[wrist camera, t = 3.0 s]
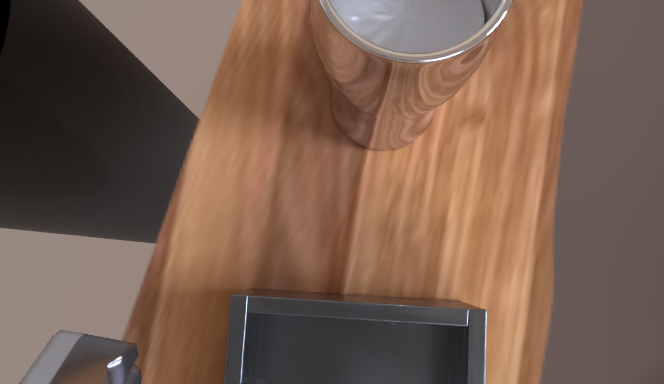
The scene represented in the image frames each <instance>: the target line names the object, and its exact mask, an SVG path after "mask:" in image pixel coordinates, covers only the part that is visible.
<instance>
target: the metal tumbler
mask: <svg viewBox="0 0 664 384" xmlns="http://www.w3.org/2000/svg"><path fill="white" fill-rule="evenodd" d="M512 2H513V0H311V12H312V27H313V34H314V39H315V44H316V48H317V53H318V56H319V59H320V62H321V64H322V67H323V69H324V71H325V73H326V75H327V77H328V79H329V81H330V82H331V84H332V85H333V86H332V91H331V108H332V112H333V116H334V118H335V120H336V122H337V124H338V126H339V127H340V129H341V130H342V131H343V132H344V133H345V135H347V136H348V137H349V138H350V139H351V140H353V141H354V142H356V143H357V144H359V145H361V146H364V147H366V148H370V149H374V150H394V149H398V148H401V147H404V146H406V145H408V144H410V143H412V142H413V141H415V140H416V139H418V138H419V137H420V136H421V135H422V134H423V133H424V132H425V131H426V129H427V128H428V127H429V125H430V123H431V121H432V119H433V117H434V114H435V111H436V108H438V107H439V106H441V105H442V104H443V103H445V102H446V101H447V100H449V99H450V98H451V97H453V96H454V95H455V94H456V93H457V92H458V91H460V90H461V88H462V87H463V86H464V85H465V84H466V83H467V82H468V80H469V79H470V78H471V77H472V75H473V74H474V73H475V72H476V70H477V69H478V67H479V66H480V64H481V63H482V61H483V59H484V58H485V56H486V54H487V52H488V51H489V49H490V47H491V45H492V43H493V41H494V39H495V37H496V35H497V33H498V30H499V28H500V26H501V23H502V21H503V19H504V17H505V16H506V14H507V12H508V10H509V9H510V7H511V4H512Z"/></svg>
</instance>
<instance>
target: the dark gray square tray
mask: <svg viewBox="0 0 664 384" xmlns="http://www.w3.org/2000/svg"><path fill="white" fill-rule="evenodd" d="M486 323H487V310H485V309H482V308H479V307H476V306H473V305H470V304H467V303H464V302H461V301H449V300H432V299H416V298H400V297H383V296H367V295H350V294H334V293H318V292H301V291H285V290H269V289H249V290H245V291H242V292H238V293H234V294H231V298H230V310H229V323H228V335H227V348H226V360H225V372H224V384H485V363H486Z"/></svg>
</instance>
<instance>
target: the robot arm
mask: <svg viewBox="0 0 664 384" xmlns="http://www.w3.org/2000/svg"><path fill="white" fill-rule="evenodd" d="M137 357H138V350H137V345H136V344H135V343H130V342H125V341H119V340H114V339H109V338H103V337H98V336H93V335H88V334H82V333H76V332H71V331H65V330H60V331H59V332H57V333H56V334H55V335H54V336H52V338H51V339H50V341H49V342H48V343H47V345H46V347H45V348H44V349H43V351H42V352H41V353H40V355H39V356H38V358H37V359H36V360H35V362H34V363H33V365H32V366H31V368H30V369H29V370H28V372H27V373H26V375H25V376H24V378H23V379H22V380H21V382H20V383H19V384H141V371H140V369H139V368H138V367H137V366H136V365H135V364H134V363H135V361H136V359H137Z"/></svg>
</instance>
